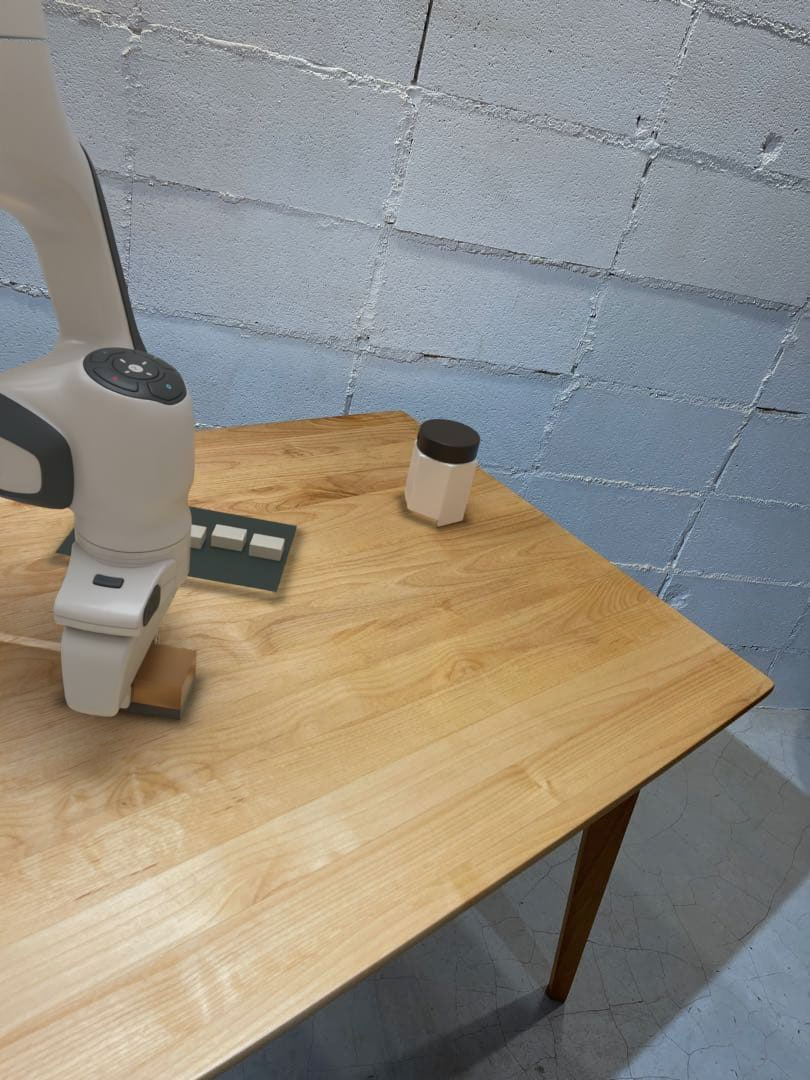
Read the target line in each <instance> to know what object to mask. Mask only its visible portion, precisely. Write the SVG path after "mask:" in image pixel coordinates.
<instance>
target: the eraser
mask: <svg viewBox="0 0 810 1080" xmlns="http://www.w3.org/2000/svg"><path fill="white" fill-rule="evenodd" d="M197 653H198V651H197V650H196V649H190V648H185V647H179V646H173V645H168V644H162V643H157V644H156V643H151V645H150V647H149V649H148V651H147V653H146V655H145V657H144V659H143V661H142V663H141V665H140V667H139V669H138V671H137V673H136V675H135V677H134V680H133V682H132V683H134V696H133V698H132V700H131V703H130V704H129V706H128V708H119V711H124V712H130V713H136V714H142V715H148V716H155V717H159V718H160V717H161V718H167V719H173V720H178V721H180V720H181V719H182V716H183V715H184V711H185V709H186V707H187V703H188V701H189V698H190V696H191V693H192V691H193V689H194V687H195V684H196V672H197V671H196V669H197V655H198V654H197Z"/></svg>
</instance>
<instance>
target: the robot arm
mask: <svg viewBox="0 0 810 1080" xmlns="http://www.w3.org/2000/svg"><path fill="white" fill-rule="evenodd" d="M27 40H28V41H27ZM29 40H37V41H29ZM40 40H42V41H43V40H44V42H42V41H40ZM45 40H46V41H49V36H48V29H47V25H46V19H45V11H44V8H43V3H42V0H0V209H2V210H4V211H5V212H7V213H8V214H9V215H11V216H12V217H13V218H14V219H16V220H17V222H19V224H20V225H21V226H22V228H23V229H24V230H25V232H26V233H27V234H28V236H29V238H30V240H31V242H32V244H33V247H34V249H35V252H36V256H37V259H38V262H39V266H40V269H41V272H42V276H43V279H44V282H45V285H46V288H47V292H48V295H49V298H50V299H49V300H50V302H51V305H52V308H53V312H54V315H55V319H56V322H57V325H58V337H57V340H56V343H55V344H54V347H53V349H52V350H51V352H50V353H48V354H45V355H43V356H40V357H38V358H36V359H34V360H31V361H29V362H26V363H24V364H22V365H21V364H20V365H18V366H14V367H12V368H10V369H7V370H5V371H3V372H0V498H2V499H5V500H9V501H12V502H17V503H21V504H25V505H29V506H34V507H38V508H43V509H50V510H64V509H65V510H66V509H69V510H70V511H71V512H72V513H73V516H74V518H73V522H74V527H75V542H74V543H73V545H72V551H71V556H70V559H69V563H68V567H67V569H66V572H65V573H64V577H63V579H62V582H61V584H60V587H59V589H58V592H57V595H56V597H55V599H54V602H53V610H52V611H53V613H52V615H53V621H54V622H55V624H58V625H62V626H63V630H62V633H61V640H60V641H61V642H60V663H61V673H62V674H61V675H62V683H63V690H64V698H65V702H66V704H67V706H68V708H70V709H72V710H73V711H75V712H77V713H82V714H85V715H91V716H98V717H108V718H109V717H114V716H116V715H117V714H118V712H119V711H120V710H119V708H128V706H129V704H130V703H131V700H132V698H133V696H134V683H132V682H133V680H134V677H135V675H136V673H137V671H138V669H139V667H140V665H141V663H142V661H143V659H144V657H145V655H146V653H147V651H148V649H149V647H150V645H151V643H156V644H158V639H157V638H158V636H159V631H160V626H161V625H162V622H163V620H164V618H165V617H166V614H167V612H168V611H169V608H170V606H171V604H172V603H173V599H174V598H175V596H176V594H177V592H178V590H179V588H180V587H181V585H183V583H184V582H185V581H186V580H187V578H188V573H189V566H190V546H191V527H192V518H191V512H190V508H189V506H190V505H189V493H190V490H191V489H192V486H193V483H194V481H195V480H194V479H195V467H196V426H195V424H196V423H195V413H194V412H195V411H194V407H193V401H192V396H191V393H190V391H189V387H188V385H187V382H186V381H185V379H184V377H183V375H182V374H181V373H180V372H179V370H177V369H176V367H174V366H173V365H171V364H170V363H168V362H167V361H165V360H163V359H162V358H160V357H158V356H156V355H154V354H151V353H149V352H148V350H147V348H146V346H145V344H144V341H143V339H142V337H141V334H140V332H139V328H138V325H137V322H136V319H135V314H134V311H133V306H132V302H131V299H130V295H129V291H128V287H127V282H126V278H125V274H124V270H123V266H122V261H121V258H120V257H121V256H120V253H119V249H118V245H117V242H116V237H115V232H114V229H113V225H112V221H111V216H110V214H109V209H108V205H107V202H106V198H105V195H104V192H103V189H102V185H101V182H100V179H99V177H98V173H97V171H96V168H95V166H94V163H93V161H92V158H91V157H90V155H89V153H88V152H87V150H86V148H85V147H84V146H83V143H81V142H80V141H79V140H78V137H77V136H76V134H75V132H74V130H73V127H72V125H71V122H70V120H69V118H68V117H69V116H68V115H67V111H66V109H65V108H66V107H65V105H64V102H63V99H62V96H61V93H60V90H59V85H58V82H57V77H56V74H55V68H54V64H53V58H52V55H51V49H50V48H51V47H50V43H49V42H45Z"/></svg>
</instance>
